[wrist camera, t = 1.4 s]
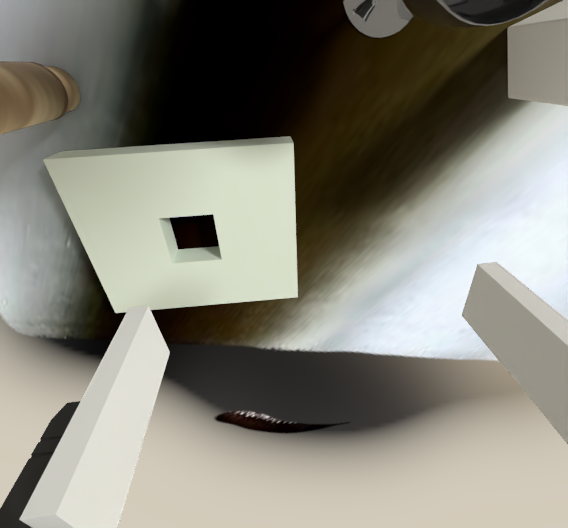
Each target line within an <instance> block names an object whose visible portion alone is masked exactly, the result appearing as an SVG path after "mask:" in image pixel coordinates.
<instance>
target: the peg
mask: <svg viewBox="0 0 568 528" xmlns="http://www.w3.org/2000/svg"><path fill="white" fill-rule="evenodd" d="M79 103H80V91H79V88H78V86H77V84H76V82H75V81H74V79H73V78H72V77H71V76H70V75H69V74H68V73H66V72H65V71H63V70H62V69H59V68H57V67H45V66H43V65H40V64H38V63H34V62H0V134H4V133H7V132H11V131H15V130H18V129H22V128H26V127H29V126H33V125H37V124H40V123H44V122H48V121H51V120H55V119H58V118H60V117H62V116H63V115H64V114H65V112H69V111H72V110H74V109H76V108H77V107H78V105H79Z"/></svg>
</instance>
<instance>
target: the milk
mask: <svg viewBox="0 0 568 528" xmlns="http://www.w3.org/2000/svg"><path fill="white" fill-rule="evenodd" d="M507 36H508V98H512V99H520V100H528V101H535V102H543V103H550V104H558V105H565V106H568V0H563V1H561V2H559V3H557V4H555V5H553V6H551V7H549V8H547V9H545V10H543V11H541V12H538V13H536V14H534V15H532V16H530V17H528V18H526V19H524V20H522V21H520V22H518V23H516V24H514V25H512V26H510V27H508V29H507Z"/></svg>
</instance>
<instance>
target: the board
mask: <svg viewBox="0 0 568 528" xmlns="http://www.w3.org/2000/svg"><path fill="white" fill-rule="evenodd" d="M43 161H44V163H45V166H46V168H47V170H48V172H49V174H50V176H51V178H52V180H53V182H54V184H55V187H56V189H57V191H58V193H59V195H60V197H61V199H62V201H63V203H64V206H65V208H66V210H67V212H68V214H69V216H70V218H71V220H72V222H73V225H74V227H75V229H76V231H77V233H78V235H79V237H80V239H81V241H82V244H83V246H84V248H85V250H86V252H87V254H88V256H89V258H90V260H91V262H92V265H93V267H94V269H95V271H96V273H97V275H98V277H99V279H100V281H101V284H102V286H103V288H104V290H105V292H106V294H107V296H108V298H109V300H110V303H111V305H112V307H113V309H114V311H115V313H121V312H127V311H128V309H129V308H134V307H142V306H149V308H150V310H156V309H167V308H179V307H190V306H202V305H213V304H225V303H236V302H248V301H259V300H271V299H282V298H294V297H298V287H297V251H296V215H295V179H294V143H293V141H292V139H291V137H290V136H288V137H272V138H257V139H242V140H227V141H211V142H196V143H181V144H165V145H150V146H135V147H120V148H104V149H89V150H74V151H61V152H58V153H56V154H54V155H52V156H49V157H47V158H45V159H43ZM211 214H213V216H214V221H215V227H216V232H217V237H218V242H219V246H218V247H205V248H192V249H180V250H178V248H177V244H176V240H175V237H174V233H173V230H172V226H171V222H170V219H169V218H171V217H185V216H198V215H211Z"/></svg>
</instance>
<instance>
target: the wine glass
mask: <svg viewBox="0 0 568 528" xmlns="http://www.w3.org/2000/svg"><path fill="white" fill-rule="evenodd" d="M342 1H343V6H344V9H345V12H346V14H347V17H348V19H349V20H350V22H351V23H352V25H353V26H354V27H355V28H356V29H357V30H358V31H359V32H361V33H362V34H364V35H366V36H369V37H372V38H384V37H388V36H391V35H394V34H395V33H397V32H399V31H401V30H402V29H403V28H404V27H405V26H407V25H408V24H409V22H410V21H411V20H412V19H413V18H414V17H416V18H417V19H419V20H421V21H423V22H425V23H428V24H430V25H433V26H436V27H442V28H449V29H470V28H479V27H486V26H492V25H497V24H502V23H505V22H508V21H511V20H514V19H517V18H520V17H522V16H524V15H526V14H527V13H529V12H531V11H533V10H535V9H537V8H538V7H539V6H541V5H542V4H543V3H545V2H546V1H547V0H342Z"/></svg>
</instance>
